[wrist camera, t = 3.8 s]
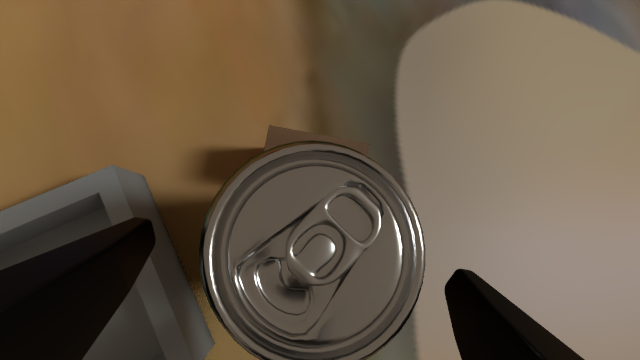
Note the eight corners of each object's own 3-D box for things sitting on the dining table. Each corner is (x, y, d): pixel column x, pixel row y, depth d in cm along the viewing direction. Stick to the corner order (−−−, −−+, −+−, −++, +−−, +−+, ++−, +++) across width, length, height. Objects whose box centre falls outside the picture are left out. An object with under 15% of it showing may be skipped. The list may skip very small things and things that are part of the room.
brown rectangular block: (348, 192, 18) (363, 182, 14) (268, 178, 18) (261, 164, 14) (352, 161, 18) (368, 143, 14) (274, 147, 18) (269, 125, 14)
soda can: (239, 236, 17) (118, 256, 5) (300, 176, 18) (315, 76, 6) (301, 297, 17) (321, 467, 5) (359, 233, 18) (494, 246, 6)
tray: (214, 343, 16) (196, 370, 13) (15, 450, 14) (-57, 508, 11) (143, 175, 17) (112, 165, 14) (-49, 257, 15) (-130, 265, 12)
